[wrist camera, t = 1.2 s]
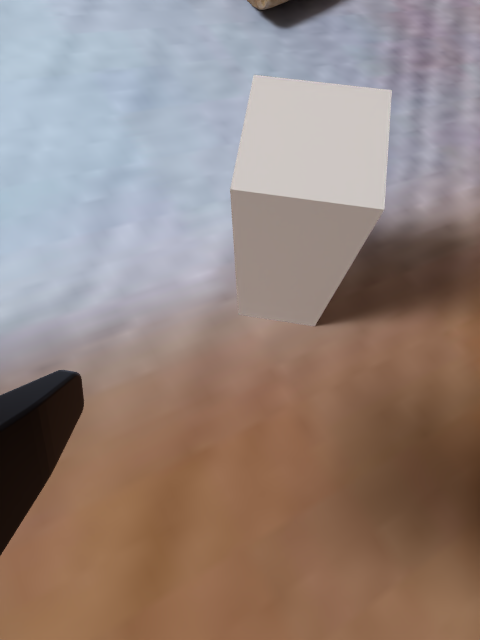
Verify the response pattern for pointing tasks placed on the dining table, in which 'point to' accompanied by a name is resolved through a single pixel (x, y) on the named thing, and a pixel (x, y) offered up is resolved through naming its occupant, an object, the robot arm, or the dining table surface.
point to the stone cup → (265, 3)
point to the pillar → (305, 192)
